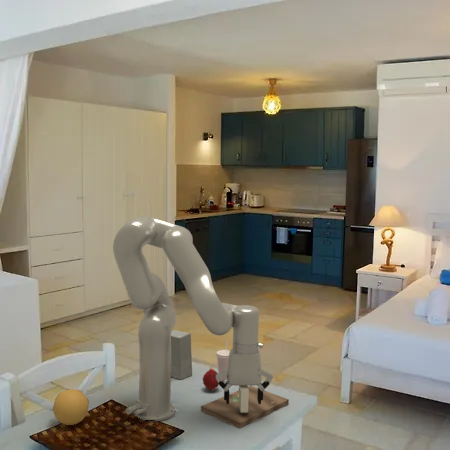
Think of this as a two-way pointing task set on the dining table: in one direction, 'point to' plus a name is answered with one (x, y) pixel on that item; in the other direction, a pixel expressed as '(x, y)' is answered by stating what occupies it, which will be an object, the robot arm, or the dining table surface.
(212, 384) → the onion
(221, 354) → the smoothie
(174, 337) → the skincare box
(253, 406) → the wooden cutting board
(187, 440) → the dining table surface
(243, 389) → the cheese with knife
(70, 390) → the stress ball
